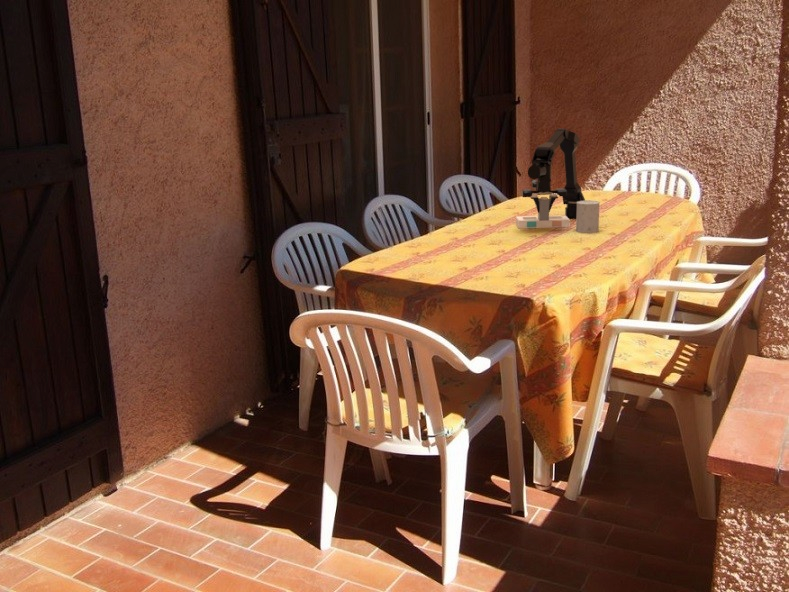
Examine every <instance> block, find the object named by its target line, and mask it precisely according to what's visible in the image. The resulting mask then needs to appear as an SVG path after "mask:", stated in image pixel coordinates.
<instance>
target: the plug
mask: <svg viewBox="0 0 789 592" xmlns="http://www.w3.org/2000/svg"><path fill="white" fill-rule="evenodd" d="M538 198H539V197H538ZM537 216H538V219H539V221H548V220H549V216H550V212H549V197H547V196H541V197H540V198H539V213H538V212H537Z"/></svg>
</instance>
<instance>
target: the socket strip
mask: <svg viewBox="0 0 789 592" xmlns="http://www.w3.org/2000/svg"><path fill="white" fill-rule="evenodd" d="M570 220H571V219H569V218H568V217H567V216H566V215H565V214H563V215H559V214H557V215H549V220H548V221H539V219H538V215H525V216H523V215H522V216H515V225H516V227H517V228H518V229H520V230H522V229H548V228H549V229H550V228H551V229H553V228H570Z"/></svg>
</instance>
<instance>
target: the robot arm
mask: <svg viewBox="0 0 789 592" xmlns="http://www.w3.org/2000/svg"><path fill="white" fill-rule="evenodd" d="M579 142H580V137H579V134H577V133H576V132H573V131H570V130H569V129H567V128H556V129H555V130H554V133H553V134H552V135H551V136H550V137H549V138H548V140H547V141H546V142H545V143H542V144H539V145H538V146H536V148H535V150H534V152H533V156H532V159H531V165H530V166H529V167H528V169H527V175H528V178H530V179H531V188H522V189H521V191H520V193H521V197H522V198H530V199H532V201H533V202H534V204H535V207H536V211H537V214H538V213H539V196H545V195H546V196H548V199H549V213H550V212H551V209H552V207H553V204H554V202H555V200H556V199H558V198H559V197H562V203H563V204H562V205H566V207H565V209H564V215H566V216H567V217H568V218H569V219H570V220H571V219H572V220H573V219H575V220H576V216H577V202H578V201H586V198H585V196H584V194H583V193H582V188H581V186H580V184H579V183H578V177H577V163H576V162H577V160H576V151H577V148H578V147H579V144H580V143H579ZM558 147H559V148H560V150H561V151H562V152H563V156H564V171H565V185H564V187H556V188H555V189H551V188H552V165H553V164H554V163H553V159H554V157H555V156H556V149H558ZM532 189H535V190H532ZM558 196H559V197H558Z"/></svg>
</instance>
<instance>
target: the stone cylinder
mask: <svg viewBox="0 0 789 592" xmlns="http://www.w3.org/2000/svg"><path fill="white" fill-rule="evenodd" d="M575 221H576V222H575V223H576V224H575V225H576V226H575V227H576V228H575V232H577V233H581V234H593V233H594V234H595V233H599V232H600V231H599V227H600V225H599V224H600V201H598V200H586V199H585V201H578V202H577V216H576V219H575Z"/></svg>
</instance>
